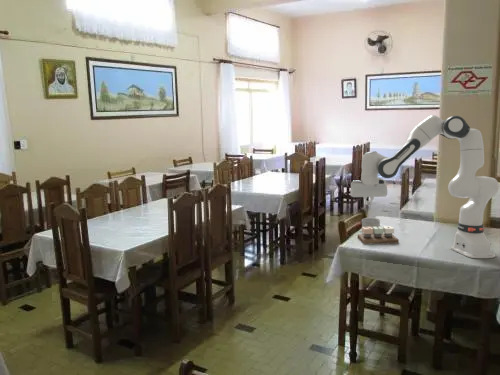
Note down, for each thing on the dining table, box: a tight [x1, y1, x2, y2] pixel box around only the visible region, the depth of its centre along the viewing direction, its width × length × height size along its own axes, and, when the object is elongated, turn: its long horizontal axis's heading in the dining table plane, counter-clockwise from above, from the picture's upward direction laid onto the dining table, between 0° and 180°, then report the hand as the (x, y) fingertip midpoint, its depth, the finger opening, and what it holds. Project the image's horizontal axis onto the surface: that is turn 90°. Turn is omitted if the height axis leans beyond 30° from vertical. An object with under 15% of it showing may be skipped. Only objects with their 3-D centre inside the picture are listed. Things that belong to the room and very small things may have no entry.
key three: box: [361, 226, 374, 237], centre depth 251 cm, size 5×5×5 cm
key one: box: [382, 225, 395, 237], centre depth 252 cm, size 5×5×5 cm
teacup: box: [361, 217, 381, 228], centre depth 269 cm, size 14×11×8 cm
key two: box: [372, 225, 384, 237], centre depth 252 cm, size 5×5×5 cm
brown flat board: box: [357, 233, 400, 245], centre depth 252 cm, size 12×20×2 cm, turn 91°
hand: (368, 204), depth 249 cm, fingers closed
